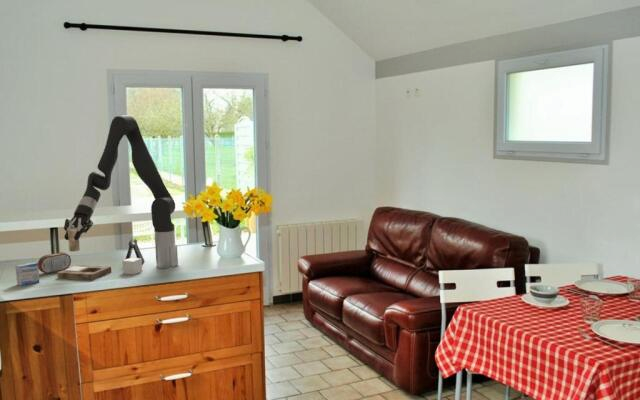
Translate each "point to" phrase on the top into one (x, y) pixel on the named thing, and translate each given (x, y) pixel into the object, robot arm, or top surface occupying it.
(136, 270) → the white rounded cube
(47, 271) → the tin
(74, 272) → the brown wooden tray
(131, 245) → the dark grey angled piece
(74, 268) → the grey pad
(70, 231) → the birch peg
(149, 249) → the top surface
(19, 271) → the medicine box
